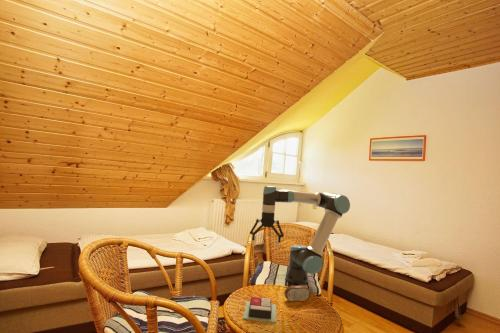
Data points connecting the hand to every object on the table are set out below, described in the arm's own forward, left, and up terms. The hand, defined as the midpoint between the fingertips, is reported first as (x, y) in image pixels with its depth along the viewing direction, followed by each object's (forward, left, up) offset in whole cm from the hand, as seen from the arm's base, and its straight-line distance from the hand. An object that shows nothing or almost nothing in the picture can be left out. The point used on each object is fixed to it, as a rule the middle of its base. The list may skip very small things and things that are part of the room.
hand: (265, 247), depth 172 cm
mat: (0, +25, -27) cm, 37 cm away
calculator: (0, +25, -26) cm, 36 cm away
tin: (-20, +7, -27) cm, 34 cm away
